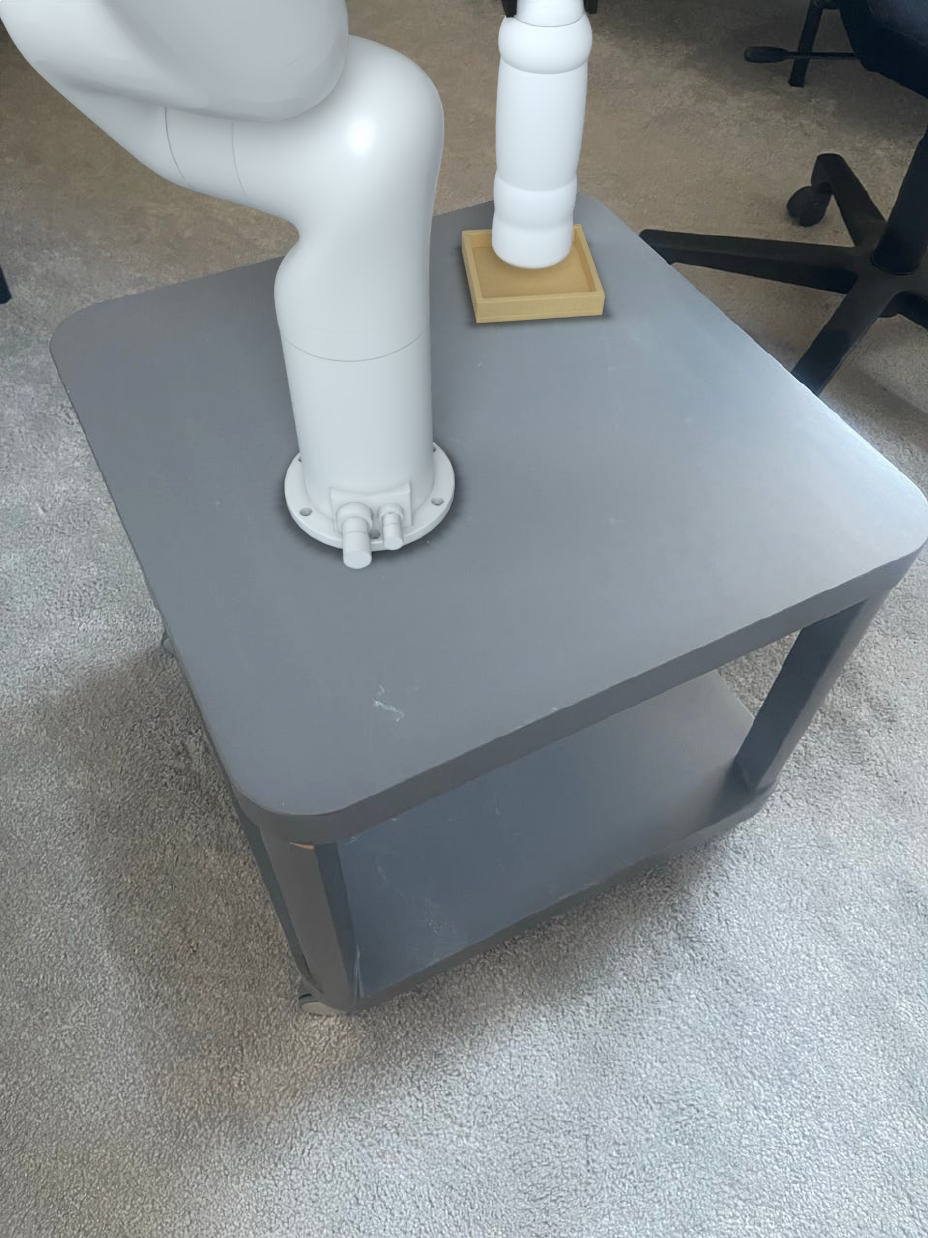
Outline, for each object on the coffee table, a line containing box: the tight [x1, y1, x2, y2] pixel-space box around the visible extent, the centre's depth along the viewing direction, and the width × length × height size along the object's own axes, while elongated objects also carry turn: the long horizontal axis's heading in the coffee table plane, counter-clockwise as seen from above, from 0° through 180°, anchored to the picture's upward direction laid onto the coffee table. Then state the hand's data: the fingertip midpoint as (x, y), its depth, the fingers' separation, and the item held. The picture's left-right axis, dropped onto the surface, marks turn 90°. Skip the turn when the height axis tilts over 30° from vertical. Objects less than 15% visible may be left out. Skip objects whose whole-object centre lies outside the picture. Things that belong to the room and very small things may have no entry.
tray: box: [461, 223, 606, 324], centre depth 91 cm, size 11×11×2 cm
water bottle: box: [491, 0, 593, 269], centre depth 79 cm, size 7×7×25 cm
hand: (548, 5), depth 73 cm, fingers closed on water bottle, 5 cm apart
